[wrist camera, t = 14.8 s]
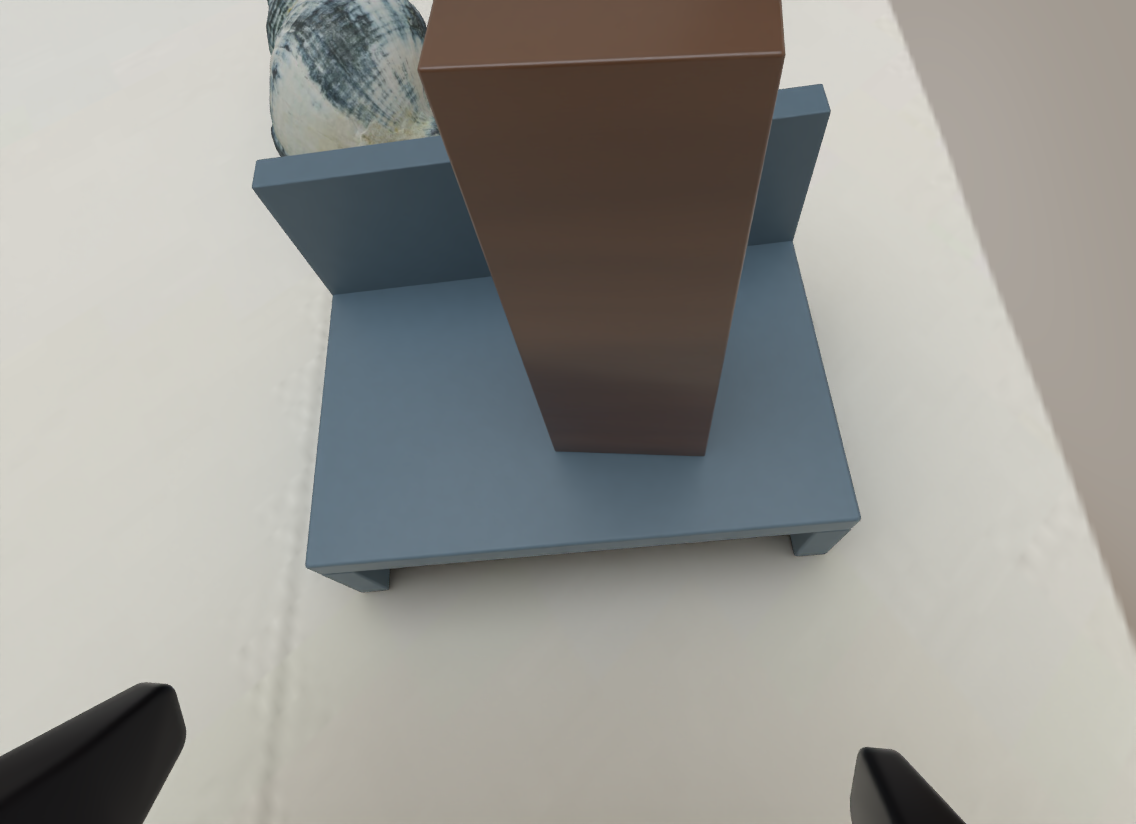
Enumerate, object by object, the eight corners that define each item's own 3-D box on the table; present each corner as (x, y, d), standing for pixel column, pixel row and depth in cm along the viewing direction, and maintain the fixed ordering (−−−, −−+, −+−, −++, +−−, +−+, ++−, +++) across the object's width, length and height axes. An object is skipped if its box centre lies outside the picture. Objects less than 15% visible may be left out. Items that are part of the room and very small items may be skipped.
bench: (826, 554, 21) (936, 450, 13) (360, 592, 22) (191, 519, 14) (768, 287, 25) (823, 82, 17) (377, 332, 26) (255, 159, 18)
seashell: (328, 267, 30) (356, 72, 35) (461, 206, 27) (471, -1, 31) (192, 181, 25) (246, -32, 30) (332, 91, 22) (369, -134, 26)
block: (704, 457, 19) (786, 53, 7) (554, 452, 19) (414, 69, 8) (704, 326, 20) (770, -167, 9) (566, 324, 21) (465, -140, 10)
